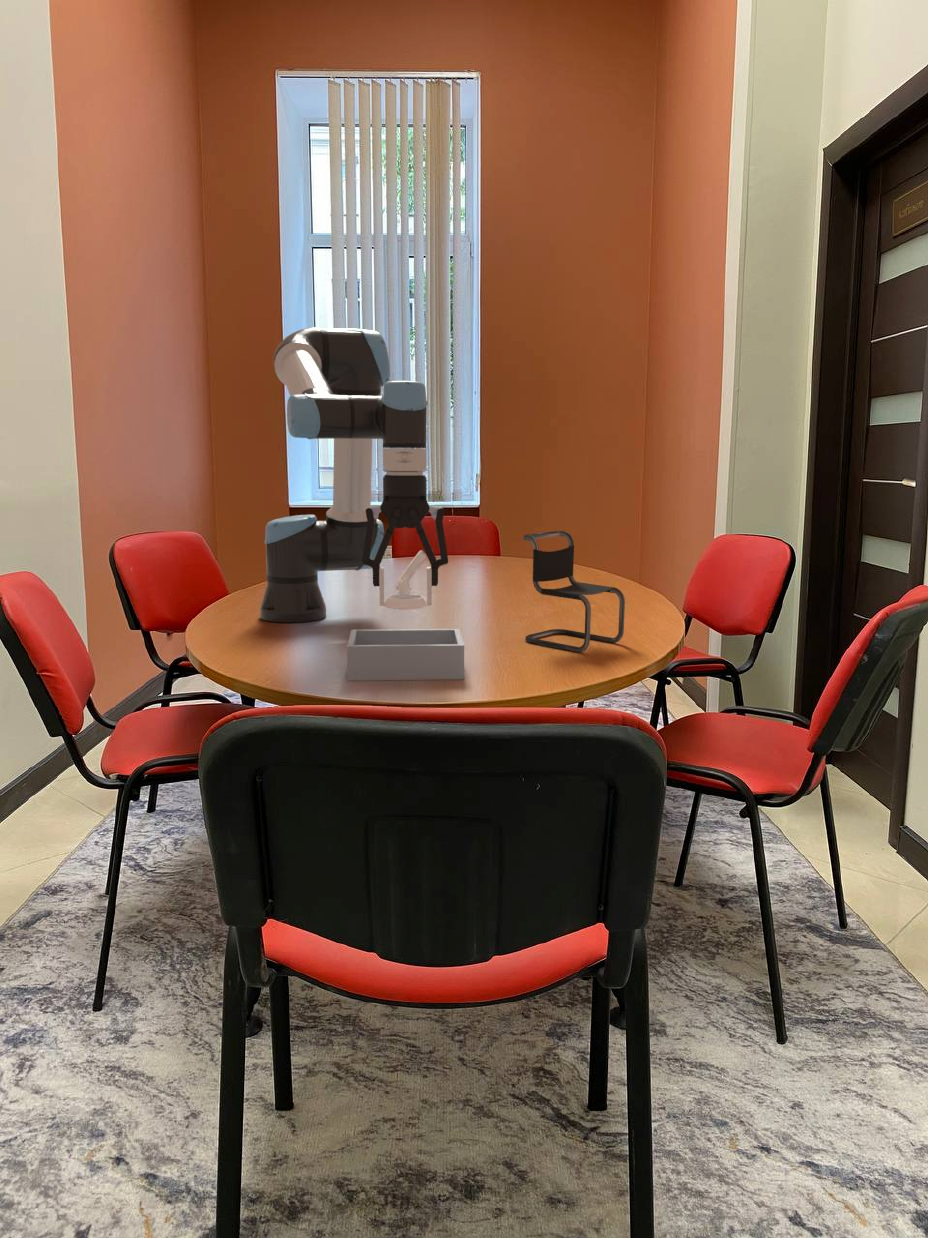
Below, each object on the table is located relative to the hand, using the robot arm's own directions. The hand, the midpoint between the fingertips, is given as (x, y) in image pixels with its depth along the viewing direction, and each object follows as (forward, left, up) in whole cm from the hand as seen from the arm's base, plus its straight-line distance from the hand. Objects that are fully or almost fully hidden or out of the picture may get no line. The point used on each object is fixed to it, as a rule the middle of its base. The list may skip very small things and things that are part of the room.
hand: (405, 604), depth 160 cm
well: (0, 0, -12) cm, 12 cm away
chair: (-21, +34, -12) cm, 42 cm away
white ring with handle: (0, 0, 0) cm, 0 cm away
